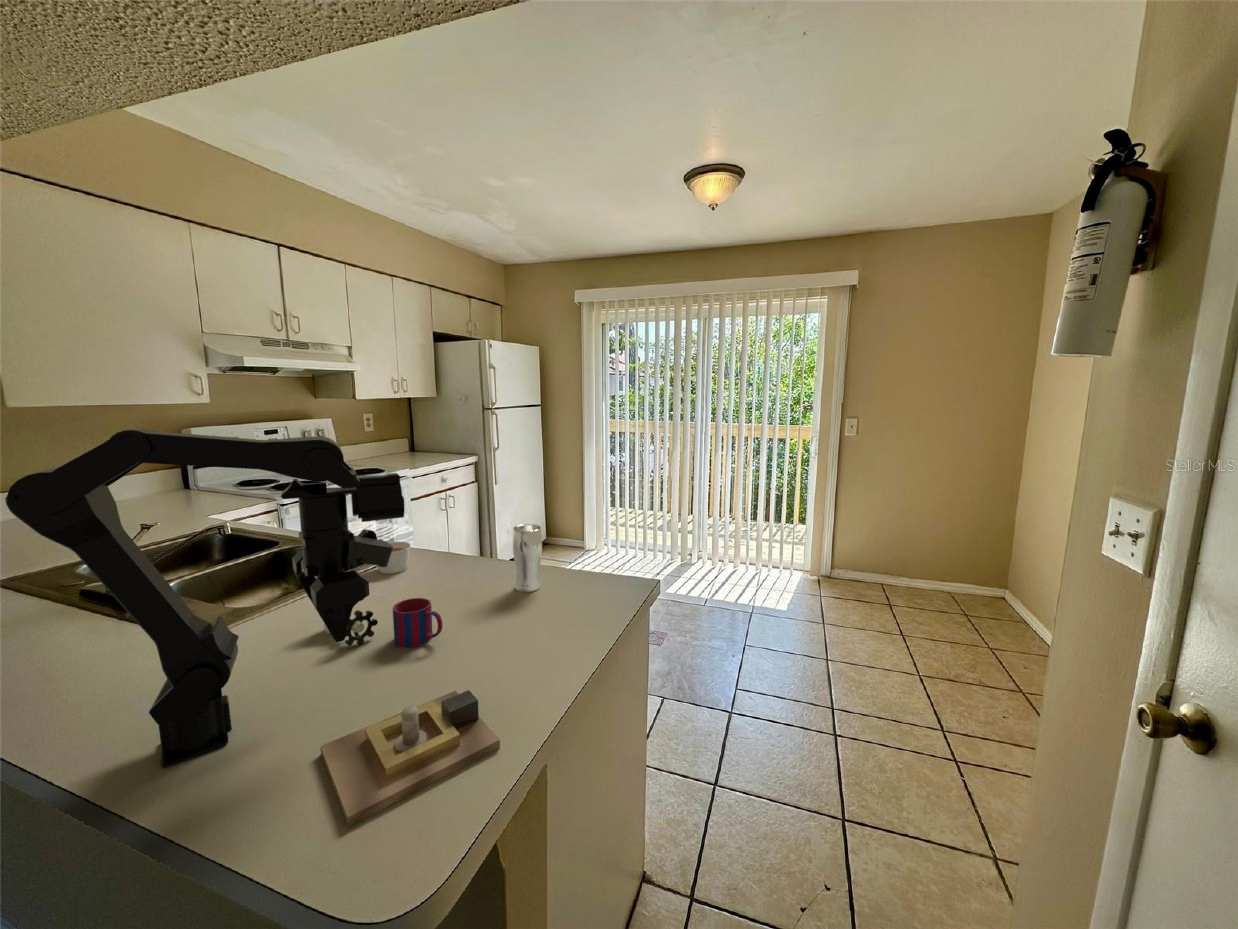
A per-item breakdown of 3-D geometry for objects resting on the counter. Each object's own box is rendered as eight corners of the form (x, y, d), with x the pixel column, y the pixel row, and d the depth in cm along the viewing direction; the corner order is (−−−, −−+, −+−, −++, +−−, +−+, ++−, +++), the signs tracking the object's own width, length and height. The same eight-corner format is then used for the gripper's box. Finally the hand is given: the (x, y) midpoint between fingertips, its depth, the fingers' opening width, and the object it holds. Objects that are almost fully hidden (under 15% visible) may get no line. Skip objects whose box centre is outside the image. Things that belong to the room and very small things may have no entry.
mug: (416, 627, 96) (414, 595, 95) (452, 639, 91) (451, 606, 90) (386, 642, 90) (384, 608, 89) (423, 656, 85) (422, 620, 84)
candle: (387, 578, 121) (386, 554, 120) (366, 571, 125) (365, 548, 124) (418, 568, 128) (417, 545, 127) (398, 561, 133) (397, 539, 132)
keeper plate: (348, 827, 52) (344, 780, 51) (321, 754, 62) (317, 714, 61) (499, 747, 63) (499, 708, 63) (455, 697, 74) (454, 663, 73)
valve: (312, 633, 93) (343, 653, 86) (309, 601, 92) (340, 618, 85) (347, 620, 98) (379, 638, 92) (345, 590, 97) (377, 605, 91)
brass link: (386, 780, 56) (385, 757, 56) (365, 739, 63) (364, 718, 63) (488, 731, 65) (488, 710, 64) (460, 699, 72) (459, 680, 71)
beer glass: (507, 591, 114) (506, 530, 112) (521, 580, 121) (521, 522, 119) (534, 595, 112) (533, 533, 110) (547, 584, 119) (546, 525, 117)
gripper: (406, 530, 66) (411, 635, 69) (368, 506, 80) (373, 594, 82) (312, 545, 59) (321, 663, 61) (288, 516, 73) (296, 613, 75)
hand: (332, 629), depth 70 cm, fingers open, 9 cm apart
